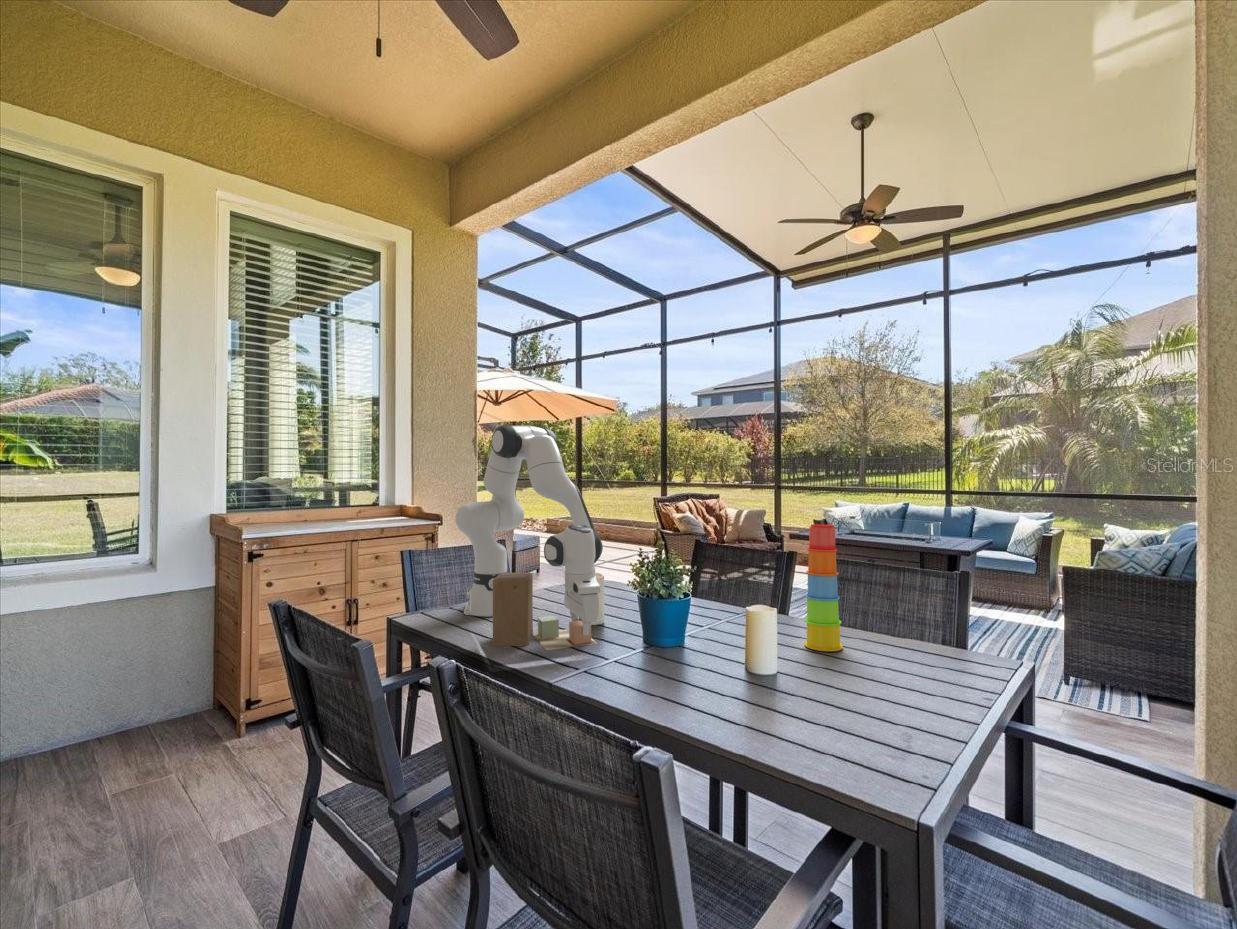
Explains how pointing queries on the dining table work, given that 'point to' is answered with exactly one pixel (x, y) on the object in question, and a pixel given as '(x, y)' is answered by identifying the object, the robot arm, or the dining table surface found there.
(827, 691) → the dining table surface
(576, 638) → the terracotta block
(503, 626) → the wooden block
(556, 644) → the birch base board
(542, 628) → the sage block
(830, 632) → the stacking cups
